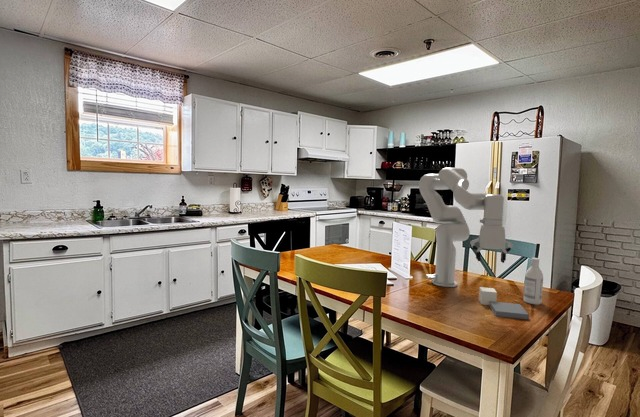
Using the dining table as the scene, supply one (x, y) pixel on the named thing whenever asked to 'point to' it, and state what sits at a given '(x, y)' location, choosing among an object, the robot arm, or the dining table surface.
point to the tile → (508, 310)
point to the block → (487, 295)
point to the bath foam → (533, 283)
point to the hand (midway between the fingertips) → (490, 261)
